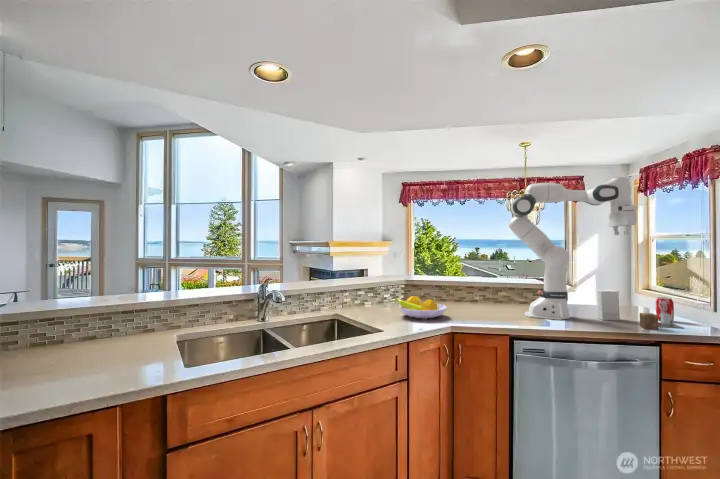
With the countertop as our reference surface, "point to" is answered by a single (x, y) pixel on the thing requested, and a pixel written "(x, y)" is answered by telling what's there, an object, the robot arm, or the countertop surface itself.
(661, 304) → the soda can
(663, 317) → the square metal plate
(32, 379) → the countertop surface
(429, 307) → the fruit bowl
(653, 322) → the shipping carton
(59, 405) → the countertop surface
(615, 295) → the skincare box
